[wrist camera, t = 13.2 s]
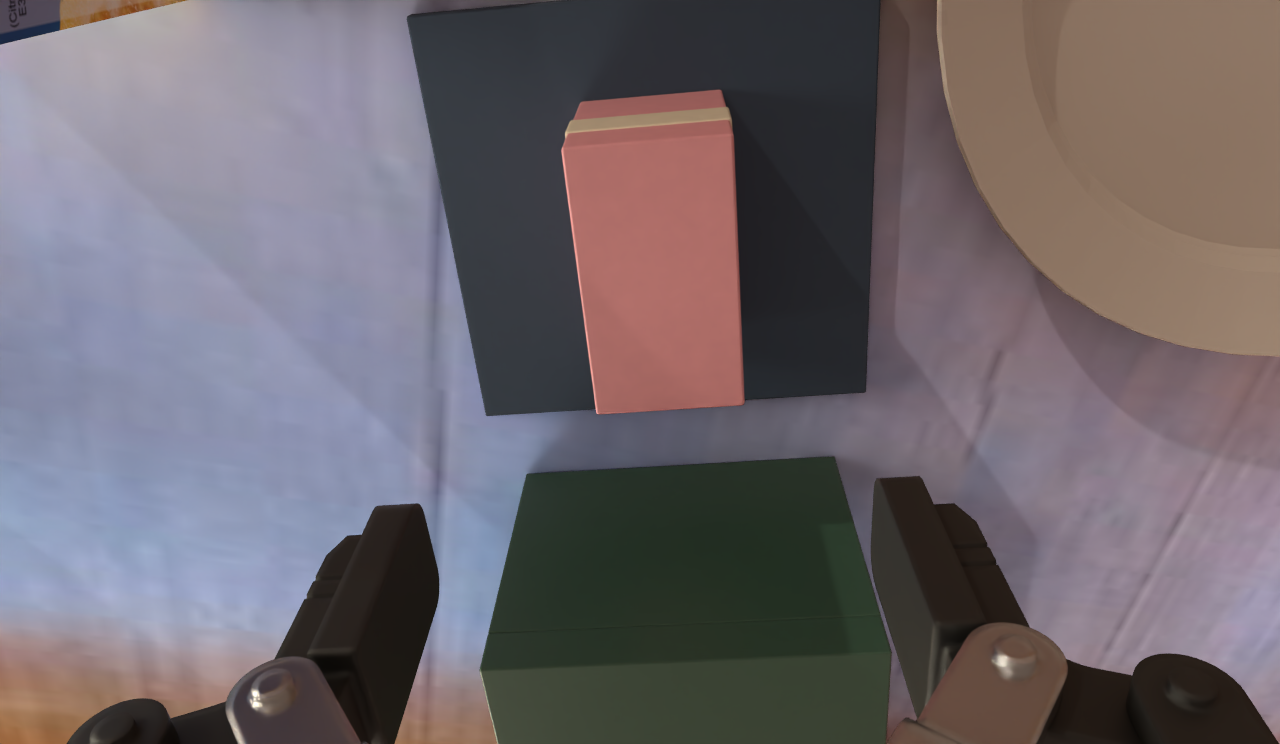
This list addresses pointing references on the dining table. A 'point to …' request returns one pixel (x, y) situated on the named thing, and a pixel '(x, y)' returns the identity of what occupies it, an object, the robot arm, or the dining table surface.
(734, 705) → the shelf stand
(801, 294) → the mat
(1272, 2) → the plate
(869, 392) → the dining table surface
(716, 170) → the block
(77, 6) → the beverage box
